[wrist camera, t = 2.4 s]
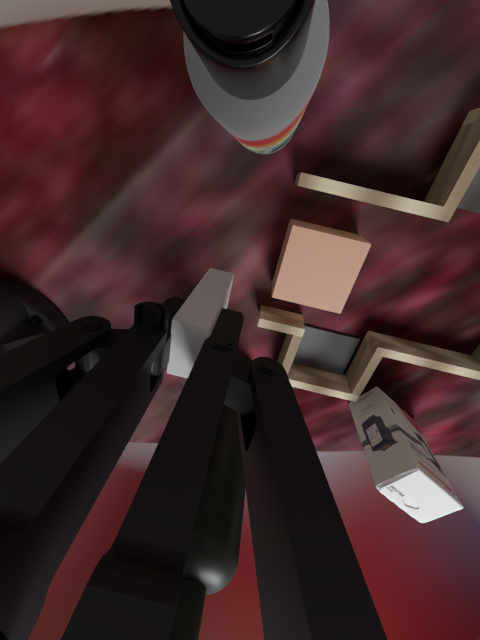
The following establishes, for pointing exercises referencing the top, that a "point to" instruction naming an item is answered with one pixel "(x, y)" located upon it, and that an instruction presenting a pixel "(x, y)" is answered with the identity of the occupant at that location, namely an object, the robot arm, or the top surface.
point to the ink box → (401, 458)
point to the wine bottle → (213, 531)
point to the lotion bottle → (255, 63)
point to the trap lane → (336, 349)
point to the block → (318, 265)
